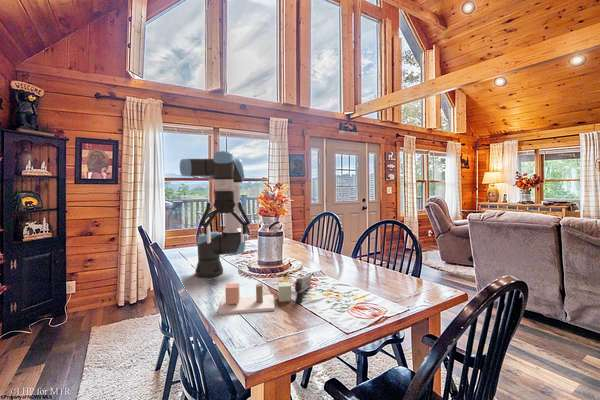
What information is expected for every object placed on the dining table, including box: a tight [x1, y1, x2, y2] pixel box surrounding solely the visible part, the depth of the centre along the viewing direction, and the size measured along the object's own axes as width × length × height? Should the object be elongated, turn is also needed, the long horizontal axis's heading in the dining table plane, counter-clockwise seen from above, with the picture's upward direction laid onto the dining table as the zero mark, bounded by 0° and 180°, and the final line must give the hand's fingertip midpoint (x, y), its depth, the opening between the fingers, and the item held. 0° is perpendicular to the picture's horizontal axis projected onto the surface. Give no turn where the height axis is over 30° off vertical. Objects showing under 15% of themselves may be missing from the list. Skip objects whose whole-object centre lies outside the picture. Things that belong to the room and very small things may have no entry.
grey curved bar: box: [294, 274, 312, 304], centre depth 136 cm, size 2×25×10 cm, turn 167°
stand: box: [218, 282, 276, 315], centre depth 126 cm, size 14×22×9 cm, turn 98°
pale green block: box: [277, 281, 292, 302], centre depth 132 cm, size 5×5×7 cm
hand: (225, 242), depth 122 cm, fingers open, 13 cm apart
